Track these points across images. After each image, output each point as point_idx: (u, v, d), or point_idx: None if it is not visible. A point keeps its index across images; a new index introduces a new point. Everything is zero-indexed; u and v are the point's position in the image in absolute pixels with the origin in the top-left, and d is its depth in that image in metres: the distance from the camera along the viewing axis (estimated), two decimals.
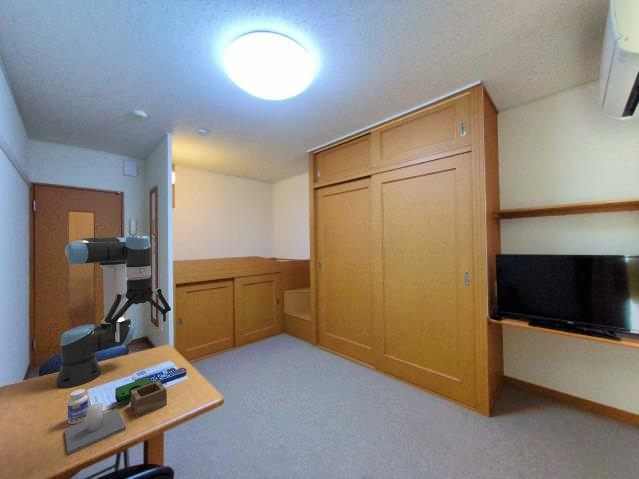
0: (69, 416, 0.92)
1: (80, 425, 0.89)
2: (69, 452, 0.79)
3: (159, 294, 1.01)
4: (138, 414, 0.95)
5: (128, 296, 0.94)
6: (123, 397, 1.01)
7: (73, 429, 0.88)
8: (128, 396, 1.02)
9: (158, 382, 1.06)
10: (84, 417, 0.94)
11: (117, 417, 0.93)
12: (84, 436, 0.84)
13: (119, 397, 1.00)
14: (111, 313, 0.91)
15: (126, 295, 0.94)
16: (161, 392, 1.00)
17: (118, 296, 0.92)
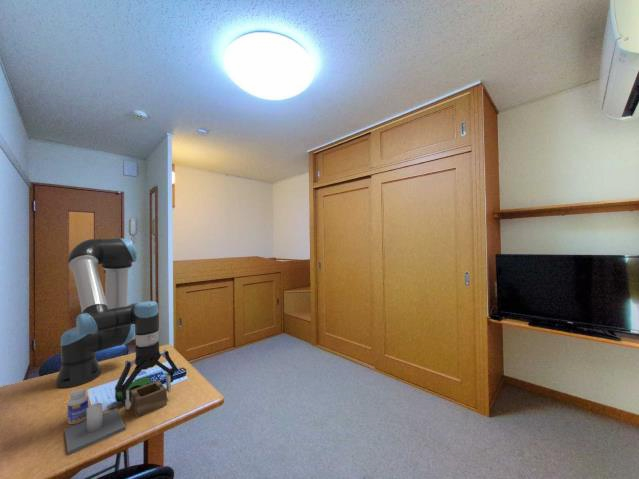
0: (69, 416, 0.92)
1: (80, 425, 0.89)
2: (69, 452, 0.79)
3: (166, 356, 1.05)
4: (138, 414, 0.95)
5: (137, 363, 0.98)
6: None
7: (73, 429, 0.88)
8: None
9: (158, 382, 1.06)
10: (84, 417, 0.94)
11: (117, 417, 0.93)
12: (84, 436, 0.84)
13: (119, 397, 1.00)
14: (121, 382, 0.94)
15: (135, 362, 0.98)
16: (161, 392, 1.00)
17: (128, 364, 0.96)
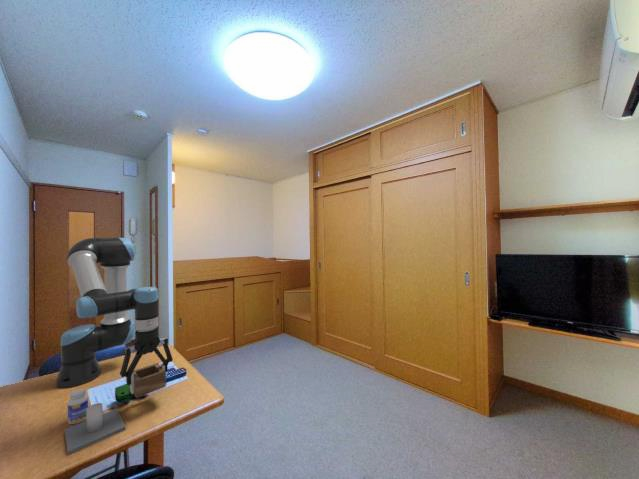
0: (69, 416, 0.92)
1: (80, 425, 0.89)
2: (69, 452, 0.79)
3: (165, 344, 1.05)
4: (137, 395, 0.95)
5: (137, 348, 0.98)
6: (123, 397, 1.01)
7: (73, 429, 0.88)
8: (128, 396, 1.02)
9: (157, 365, 1.07)
10: (84, 417, 0.94)
11: (117, 417, 0.93)
12: (84, 436, 0.84)
13: (119, 397, 1.00)
14: (125, 367, 0.95)
15: (135, 347, 0.98)
16: (160, 374, 1.01)
17: (127, 351, 0.96)
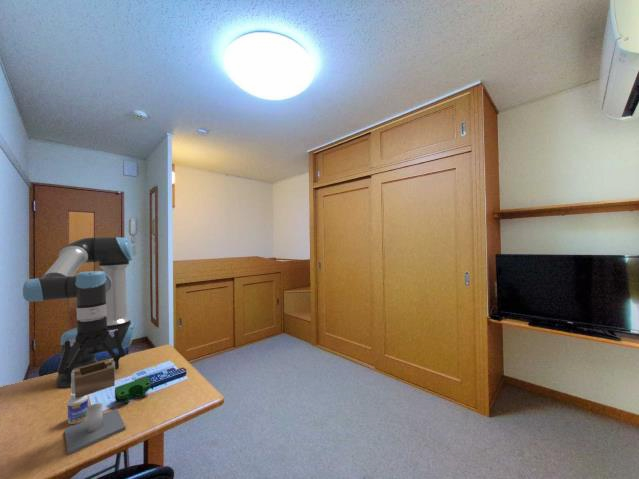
0: (69, 416, 0.92)
1: (80, 425, 0.89)
2: (69, 452, 0.79)
3: (115, 336, 0.91)
4: (77, 395, 0.82)
5: (78, 340, 0.85)
6: (122, 396, 1.01)
7: (73, 429, 0.88)
8: (127, 395, 1.02)
9: (107, 361, 0.93)
10: (84, 417, 0.94)
11: (117, 417, 0.93)
12: (84, 436, 0.84)
13: (119, 396, 1.01)
14: (62, 363, 0.82)
15: (76, 340, 0.85)
16: (107, 371, 0.87)
17: (66, 343, 0.82)
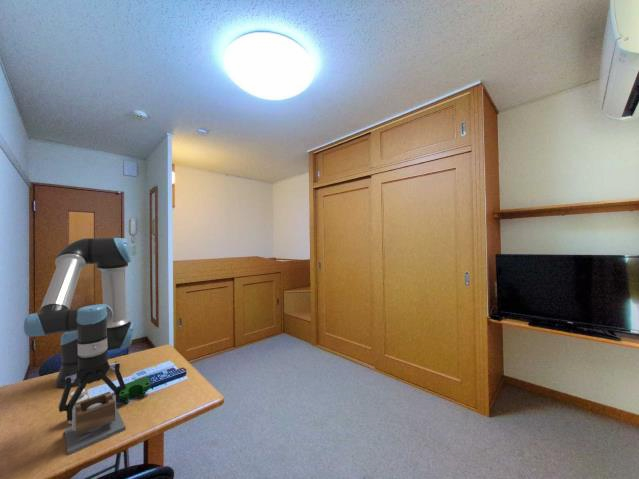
0: None
1: None
2: (69, 452, 0.79)
3: (116, 370, 0.92)
4: (78, 432, 0.82)
5: (79, 376, 0.85)
6: (122, 396, 1.01)
7: None
8: (127, 395, 1.02)
9: (108, 394, 0.93)
10: None
11: (117, 417, 0.93)
12: (84, 436, 0.84)
13: None
14: (63, 400, 0.82)
15: (77, 376, 0.85)
16: (108, 406, 0.87)
17: (67, 380, 0.83)
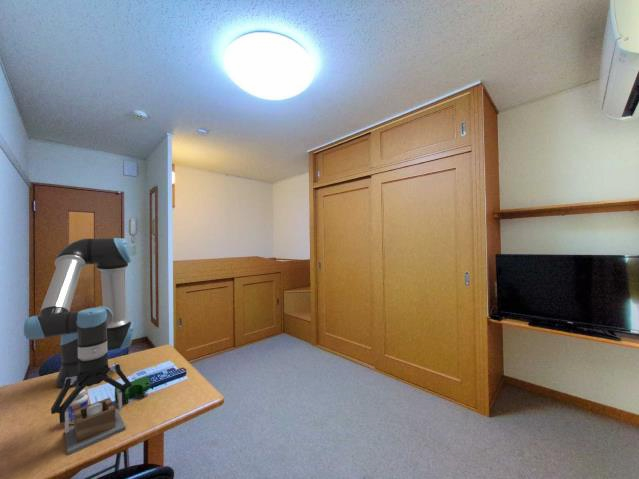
0: (69, 416, 0.92)
1: None
2: (69, 452, 0.79)
3: (117, 370, 0.92)
4: (78, 439, 0.82)
5: (79, 379, 0.85)
6: None
7: (73, 429, 0.88)
8: (127, 395, 1.02)
9: (108, 400, 0.93)
10: None
11: (117, 417, 0.93)
12: None
13: None
14: (58, 402, 0.81)
15: (77, 378, 0.85)
16: (108, 413, 0.87)
17: (67, 381, 0.83)
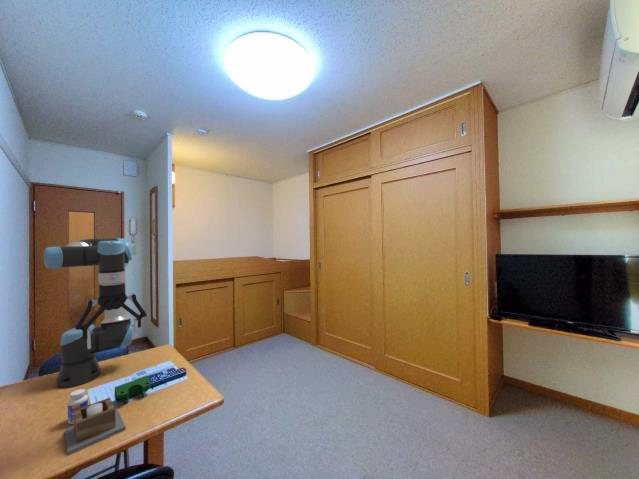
0: (69, 416, 0.92)
1: None
2: (69, 452, 0.79)
3: (134, 300, 0.99)
4: (78, 439, 0.82)
5: (100, 302, 0.93)
6: (122, 396, 1.01)
7: (73, 429, 0.88)
8: (127, 395, 1.02)
9: (108, 400, 0.93)
10: None
11: (117, 417, 0.93)
12: None
13: (118, 396, 1.01)
14: (81, 320, 0.89)
15: (98, 301, 0.92)
16: (108, 413, 0.87)
17: (89, 302, 0.90)
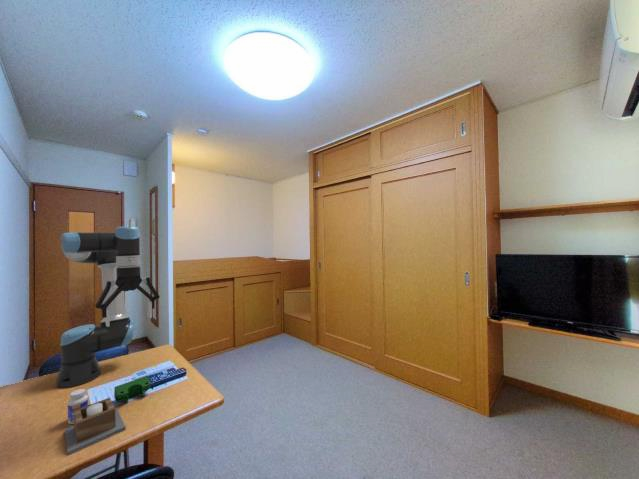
0: (69, 416, 0.92)
1: None
2: (69, 452, 0.79)
3: (148, 282, 1.07)
4: (78, 439, 0.82)
5: (118, 283, 0.99)
6: (122, 396, 1.01)
7: (73, 429, 0.88)
8: (127, 395, 1.03)
9: (108, 400, 0.93)
10: None
11: (117, 417, 0.93)
12: None
13: (118, 396, 1.01)
14: (101, 299, 0.96)
15: (116, 282, 0.99)
16: (108, 413, 0.87)
17: (108, 283, 0.97)
